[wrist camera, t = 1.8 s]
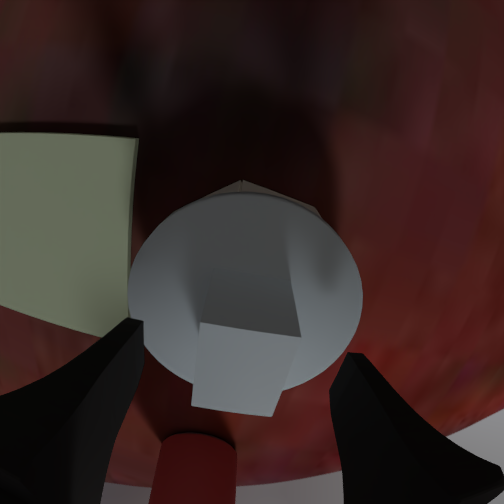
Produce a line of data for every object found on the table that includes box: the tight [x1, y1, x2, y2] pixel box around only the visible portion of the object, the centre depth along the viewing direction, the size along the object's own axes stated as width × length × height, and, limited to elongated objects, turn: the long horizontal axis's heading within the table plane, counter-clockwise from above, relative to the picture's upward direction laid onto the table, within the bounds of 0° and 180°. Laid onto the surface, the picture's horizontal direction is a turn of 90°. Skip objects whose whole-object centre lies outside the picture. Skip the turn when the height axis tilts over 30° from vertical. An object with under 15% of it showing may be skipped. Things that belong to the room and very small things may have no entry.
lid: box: [127, 192, 363, 417], centre depth 12 cm, size 10×10×4 cm
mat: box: [0, 132, 139, 337], centre depth 16 cm, size 12×12×1 cm
